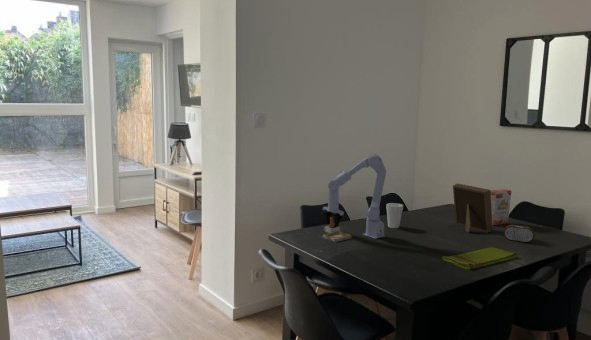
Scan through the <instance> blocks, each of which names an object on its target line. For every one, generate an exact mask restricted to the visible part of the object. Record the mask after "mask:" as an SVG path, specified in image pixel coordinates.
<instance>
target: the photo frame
mask: <svg viewBox="0 0 591 340" xmlns="http://www.w3.org/2000/svg"><path fill="white" fill-rule="evenodd" d="M452 190H453V192H452V193H453V204H454V207H453V208H454V216H455V217H454V219H455V225H458V224H459V226H461V227H465V226H466V227H465V232H467V233H468V234H469V233H470V231H471V229H472V228H474V229H473V230H476V229H477V231H480V230H481V231H480V232H483V231H485V232H484V233H487V232H489V233H490V232H492V231H493V226H492V211H491V192H490V190H491V189H487V188H483V187H478V186H473V185H467V184H462V183H456V184H453V185H452Z"/></svg>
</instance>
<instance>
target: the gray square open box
mask: <svg viewBox="0 0 591 340" xmlns="http://www.w3.org/2000/svg"><path fill="white" fill-rule="evenodd" d="M341 230H342V229H341V227H340V226H338V227H335V228H333V229H332V228H330V225H326V226H324V227H323V232H325V233H332V232H336V231H340V232H342V231H341Z"/></svg>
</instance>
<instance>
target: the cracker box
mask: <svg viewBox="0 0 591 340" xmlns="http://www.w3.org/2000/svg"><path fill="white" fill-rule="evenodd" d="M489 190H490V192H491V211H492V225H493V226H494V225H495V226H500V225H506V223H507V224H509V217H510V215H509V214H510V207H511V200H512V199H511V197H512V190H510V189H506V188H500V189H499V188H498V189H489ZM493 226H492V227H493Z"/></svg>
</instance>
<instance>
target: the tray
mask: <svg viewBox="0 0 591 340" xmlns="http://www.w3.org/2000/svg"><path fill="white" fill-rule="evenodd" d="M352 238H353V235H352V234H349V233H346V232H344V231H336V232H332V233H328V232H326V233H322V239H325V240H329V241H331V242H333V243H337V242H343V241H345V240H350V239H352Z"/></svg>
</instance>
